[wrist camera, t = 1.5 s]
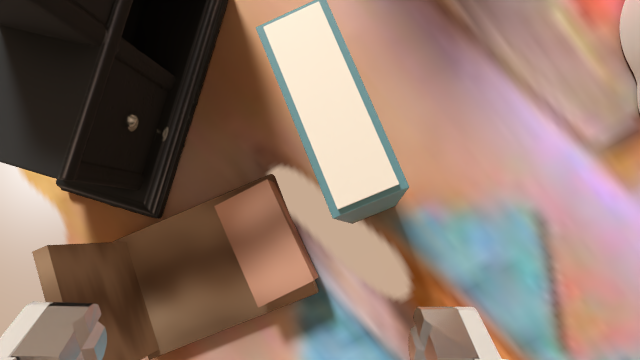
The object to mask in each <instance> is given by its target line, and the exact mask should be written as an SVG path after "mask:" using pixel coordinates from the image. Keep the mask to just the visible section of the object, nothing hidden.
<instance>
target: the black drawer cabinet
mask: <svg viewBox="0 0 640 360" xmlns="http://www.w3.org/2000/svg"><path fill="white" fill-rule="evenodd" d="M227 3H228V0H0V162H2V163H6V164H9V165H12V166H16V167H19V168H22V169H26V170H29V171H32V172H36V173H39V174H42V175H46V176H49V177H52V178H56V179H57V181H56V184H57V186H59V187H60V188H61V190H63V191H67V192H71V193H74V194H77V195H80V196H83V197H87V198H90V199H93V200H96V201H100V202H103V203H106V204H109V205H111V206H114V207H119V208H123V209H126V210H129V211H132V212H135V213H139V214H143V215H146V216H149V217H153V218H158V219H159V218H161V217H162V214H163V211H164V208H165V205H166V202H167V199H168V195H169V192H170V189H171V185H172V182H173V179H174V176H175V172H176V169H177V166H178V162H179V159H180V155H181V152H182V149H183V147H184V143H185V139H186V136H187V133H188V130H189V126H190V123H191V120H192V117H193V113H194V110H195V107H196V105H197V100H198V98H199V95H200V91H201V88H202V84H203V81H204V78H205V75H206V72H207V68H208V64H209V61H210V58H211V55H212V52H213V49H214V46H215V42H216V39H217V36H218V33H219V29H220V26H221V22H222V19H223V16H224V13H225V10H226V6H227Z"/></svg>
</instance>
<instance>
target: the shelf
mask: <svg viewBox="0 0 640 360" xmlns="http://www.w3.org/2000/svg"><path fill="white" fill-rule="evenodd" d="M32 253H33V256H34V260H35V264H36V267H37V271H38V275H39V279H40V282H41V286H42V290H43V294H44V297H45V301H46V302H70V303H94V304H98V305H99V308H100V311H101V316H100V318H99V320H98V322H100V323H101V324H102V325H103V326H105V329H106V333H107V345H106V349H105V353H104V356H103V358H102V360H141V359H143V358H145V357H146V356H148V358H149V360H150V359H152V358H155V357H157V356H160V355H162V354H165V353H167V352H170V351H173V350H175V349H178V348H180V347H183V346H185V345H188V344H190V343H193V342H195V341H198V340H200V339H203V338H205V337H208V336H210V335H213V334H215V333H218V332H220V331H223V330H225V329H228V328H230V327H233V326H235V325H238V324H240V323H243V322H245V321H248V320H251V319H253V318H256V317H258V316H261V315H263V314H266V313H268V312H271V311H273V310H276V309H278V308H281V307H283V306H286V305H288V304H291V303H293V302H296V301H298V300H301V299H303V298H306V297H308V296H311V295H313V294H316V293H318V292H319V289H318V287H317V284H316V282H315V279H317V278H318V275H317V273H316V271H315V268H314V266H313V264H312V262H311V260H310V258H309V256H308V253H307V251H306V249H305V247H304V245H303V243H302V241H301V239H300V236H299V234H298V232H297V230H296V228H295V226H294V224H293V221H292V219H291V217H290V214H289V212H288V209H287V207H286V204H285V201H284V199H283V196H282V194H281V191H280V188H279V186H278V183H277V181H276V178H275V176H274V175H272V174H270V175H267V176H265V177H263V178H260V179H258V180H256V181H253V182H251V183H249V184H246V185H244V186H242V187H239V188H237V189H235V190H232V191H230V192H228V193H225V194H223V195H221V196H218V197H216V198H214V199H211V200H209V201H207V202H204V203H202V204H200V205H197V206H195V207H193V208H190V209H188V210H186V211H183V212H181V213H179V214H176V215H174V216H172V217H169V218H167V219H165V220H162V221H160V222H158V223H155V224H153V225H151V226H148V227H146V228H144V229H141V230H139V231H137V232H134V233H132V234H129V235H127V236H125V237H122V238H120V239H118V240H115V241H113V242H111V243H89V244H67V245H47V246H45V247H42V248H40V249H38V250H35V251H33V252H32Z"/></svg>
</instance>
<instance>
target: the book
mask: <svg viewBox="0 0 640 360" xmlns="http://www.w3.org/2000/svg"><path fill="white" fill-rule="evenodd" d="M256 30H257V32H258V34H259V37H260V39H261V42H262V44H263V47H264V49H265V52H266V54H267V57H268V59H269V62H270V64H271V67H272V69H273V72H274V74H275V77H276V79H277V81H278V84H279V86H280V89H281V91H282V94H283V96H284V99H285V101H286V104H287V106H288V109H289V111H290V114H291V116H292V119H293V121H294V123H295V126H296V128H297V131H298V133H299V136H300V138H301V141H302V143H303V146H304V148H305V151H306V153H307V156H308V158H309V161H310V163H311V165H312V168H313V170H314V173H315V175H316V178H317V180H318V183H319V185H320V188H321V190H322V193H323V195H324V198H325V200H326V203H327V205H328V207H329V210H330V212H331V215H332V217H333V218H334V219H337V220H341V221H345V222H348V223H355V222H357V221H360V220H362V219H365V218H367V217H370V216H372V215H375V214H377V213H379V212H382V211H384V210H387V209H389V208H392V207H394V206H395V205H396V204H397V203H398V201H399V200H400V199H401V197H402V196H403V195H404V193H405V192H406V191H407V189H408V188H409V185H408V183H407V181H406V179H405V176H404V174H403V172H402V170H401V167H400V165H399V163H398V161H397V158H396V156H395V154H394V152H393V149H392V147H391V145H390V143H389V140H388V138H387V136H386V134H385V131H384V129H383V127H382V125H381V122H380V120H379V118H378V116H377V113H376V111H375V109H374V107H373V104H372V102H371V100H370V98H369V95H368V93H367V91H366V89H365V86H364V84H363V82H362V80H361V77H360V75H359V73H358V71H357V68H356V66H355V64H354V62H353V59H352V57H351V55H350V53H349V50H348V48H347V46H346V44H345V41H344V39H343V37H342V35H341V32H340V30H339V28H338V26H337V23H336V21H335V19H334V17H333V14H332V12H331V10H330V8H329V5H328V3H327V1H326V0H314V1H312V2H310V3H308V4H306V5H303V6H301V7H299V8H297V9H295V10H293V11H290V12H288V13H286V14H284V15H282V16H280V17H277V18H275V19H273V20H271V21H269V22H267V23H264V24H262V25H260V26H258V27H256Z"/></svg>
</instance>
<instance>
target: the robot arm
mask: <svg viewBox="0 0 640 360" xmlns="http://www.w3.org/2000/svg"><path fill="white" fill-rule="evenodd" d="M620 39H621V45H622V49H623V52H624V55H625V57H626V60H627V62H628V64H629V66H630V68H631V70H632V71H633V73H634V76H635V78H636V81H637V100H638V108H639V112H640V0H625V3H624V5H623V8H622V12H621V17H620ZM100 316H101V311H100V308H99V305H98V304H94V303H70V302H31V303H30V304H28V305H26V306H25V308H24V309H23V310H22V311H21V313H20V314H19V315H18V317H16V319H15V320H14V321H13V322H12V324H11V325H10V326H9V327H8V329H7V330H6V331H5V332H4V334H3V335H2V336H1V337H0V360H102V358H103V356H104V353H105V349H106V345H107V333H106V329H105V326H103V325H102V324H101V323H100V322H98V320H99V318H100ZM413 319H414V322H415V326H414V327H413V328H411V329H410V334H409V355H410V360H508V359H502V358H501V356H500V355H499V353H498V351H497V349H496V347H495V345H494V343H493V341H492V339H491V337H490V335H489V333H488V331H487V329H486V327H485V325H484V323H483V321H482V319H481V318H480V316H479V314H478V312H477V310H476V309H475V308H474V307H417V308H416V309H415V312H414V316H413Z"/></svg>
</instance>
